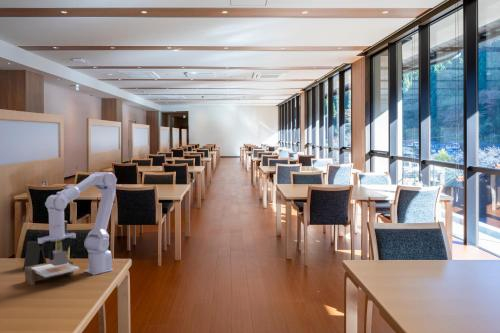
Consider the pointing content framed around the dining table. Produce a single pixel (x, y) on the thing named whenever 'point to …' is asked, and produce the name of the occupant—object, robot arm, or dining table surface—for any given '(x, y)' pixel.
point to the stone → (59, 257)
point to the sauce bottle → (59, 243)
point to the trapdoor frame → (32, 276)
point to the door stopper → (34, 254)
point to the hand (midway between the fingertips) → (57, 258)
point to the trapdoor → (54, 269)
